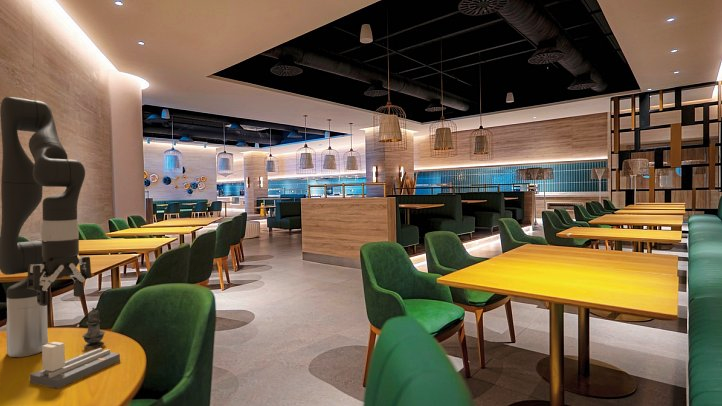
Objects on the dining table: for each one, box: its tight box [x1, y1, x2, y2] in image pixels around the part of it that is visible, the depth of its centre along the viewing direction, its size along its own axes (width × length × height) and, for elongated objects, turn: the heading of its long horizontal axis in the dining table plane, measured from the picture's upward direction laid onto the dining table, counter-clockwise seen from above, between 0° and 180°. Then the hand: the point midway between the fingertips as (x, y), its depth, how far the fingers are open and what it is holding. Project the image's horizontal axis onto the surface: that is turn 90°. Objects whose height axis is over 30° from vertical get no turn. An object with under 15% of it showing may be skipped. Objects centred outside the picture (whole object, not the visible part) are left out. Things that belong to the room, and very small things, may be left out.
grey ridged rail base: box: [29, 347, 121, 390], centre depth 107 cm, size 10×17×3 cm, turn 161°
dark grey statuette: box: [82, 306, 106, 350], centre depth 124 cm, size 6×6×12 cm
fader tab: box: [41, 341, 66, 375], centre depth 101 cm, size 4×3×7 cm
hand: (61, 300), depth 101 cm, fingers open, 8 cm apart
